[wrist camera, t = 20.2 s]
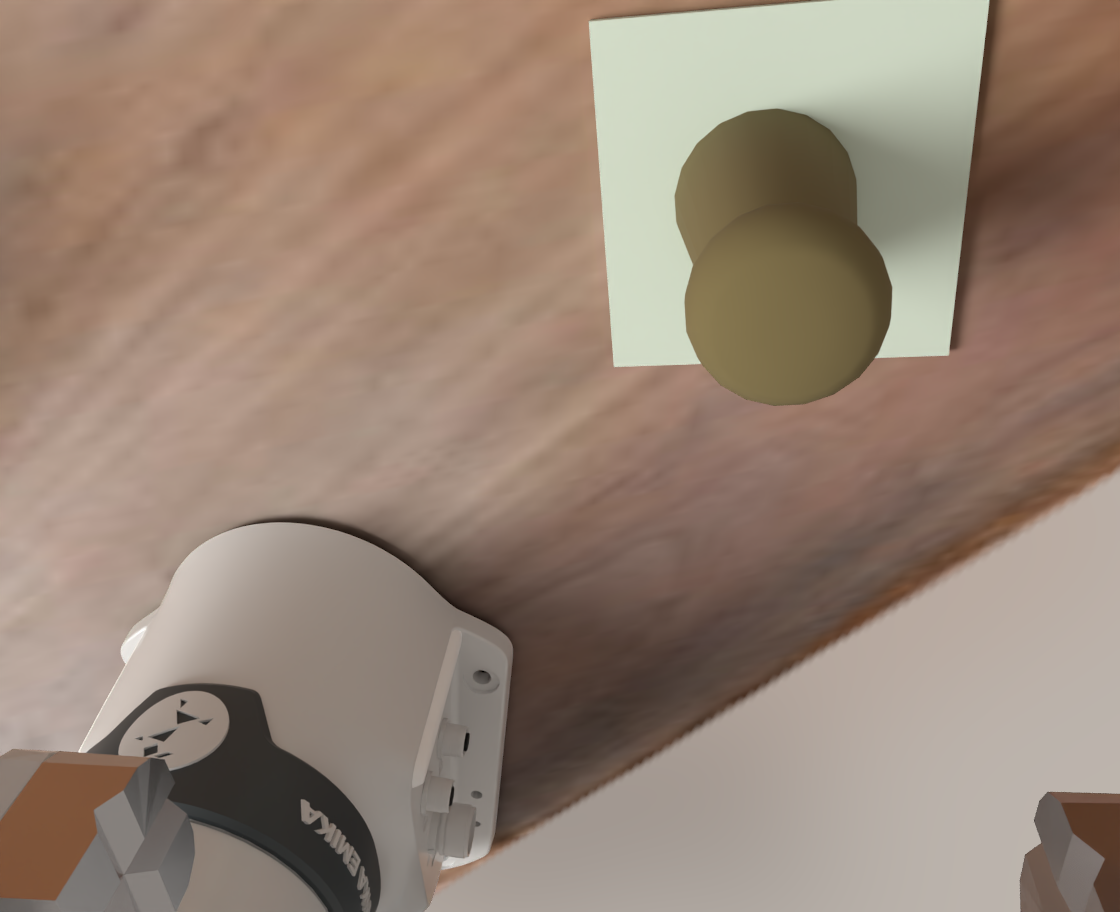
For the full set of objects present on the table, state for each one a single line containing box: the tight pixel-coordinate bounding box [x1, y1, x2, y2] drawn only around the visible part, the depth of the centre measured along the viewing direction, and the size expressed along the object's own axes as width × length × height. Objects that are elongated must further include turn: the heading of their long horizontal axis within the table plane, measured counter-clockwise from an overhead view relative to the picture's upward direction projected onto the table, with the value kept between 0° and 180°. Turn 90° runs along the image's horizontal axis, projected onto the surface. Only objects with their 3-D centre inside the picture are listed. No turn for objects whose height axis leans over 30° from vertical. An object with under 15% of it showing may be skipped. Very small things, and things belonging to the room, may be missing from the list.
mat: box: [589, 0, 989, 367], centre depth 33 cm, size 12×12×1 cm
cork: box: [674, 108, 892, 406], centre depth 29 cm, size 6×6×11 cm
